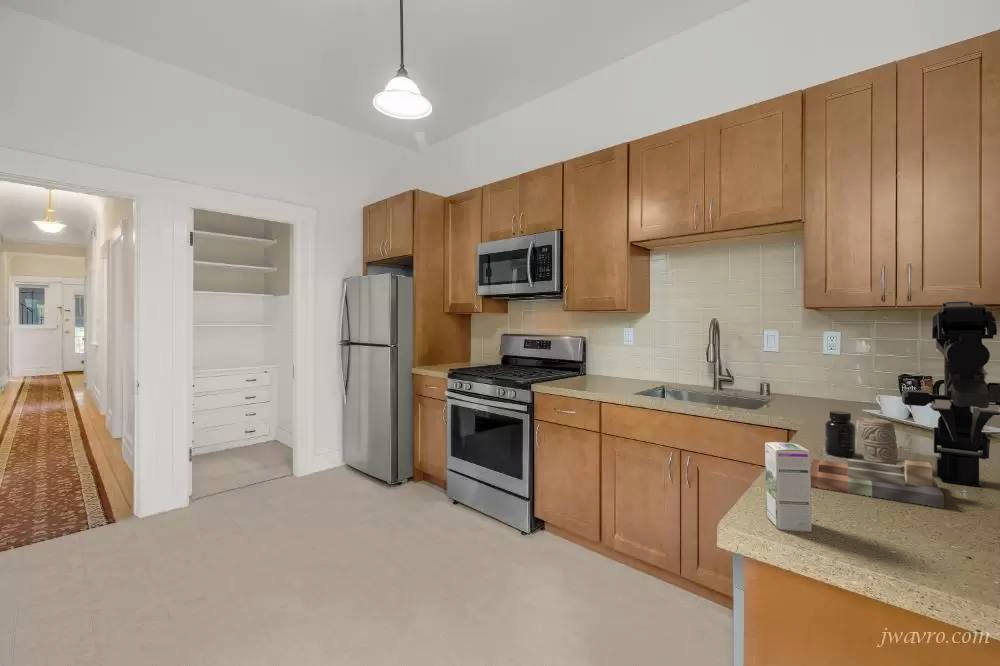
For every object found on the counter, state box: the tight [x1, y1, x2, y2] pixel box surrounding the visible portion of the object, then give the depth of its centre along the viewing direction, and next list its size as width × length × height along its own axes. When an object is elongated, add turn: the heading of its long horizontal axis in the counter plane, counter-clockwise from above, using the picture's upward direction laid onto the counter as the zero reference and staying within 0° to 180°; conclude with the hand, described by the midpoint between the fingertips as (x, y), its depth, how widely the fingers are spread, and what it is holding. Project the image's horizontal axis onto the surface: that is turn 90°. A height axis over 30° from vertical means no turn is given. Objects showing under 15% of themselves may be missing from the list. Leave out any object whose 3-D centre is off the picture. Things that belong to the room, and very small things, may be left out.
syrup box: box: [764, 441, 813, 533], centre depth 83 cm, size 6×6×14 cm
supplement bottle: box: [824, 410, 856, 459], centre depth 128 cm, size 7×7×12 cm
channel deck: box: [810, 458, 945, 510], centre depth 102 cm, size 22×16×4 cm
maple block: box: [904, 459, 933, 486], centre depth 98 cm, size 4×4×4 cm
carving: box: [859, 417, 899, 465], centre depth 117 cm, size 6×8×12 cm
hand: (963, 442), depth 93 cm, fingers open, 2 cm apart
